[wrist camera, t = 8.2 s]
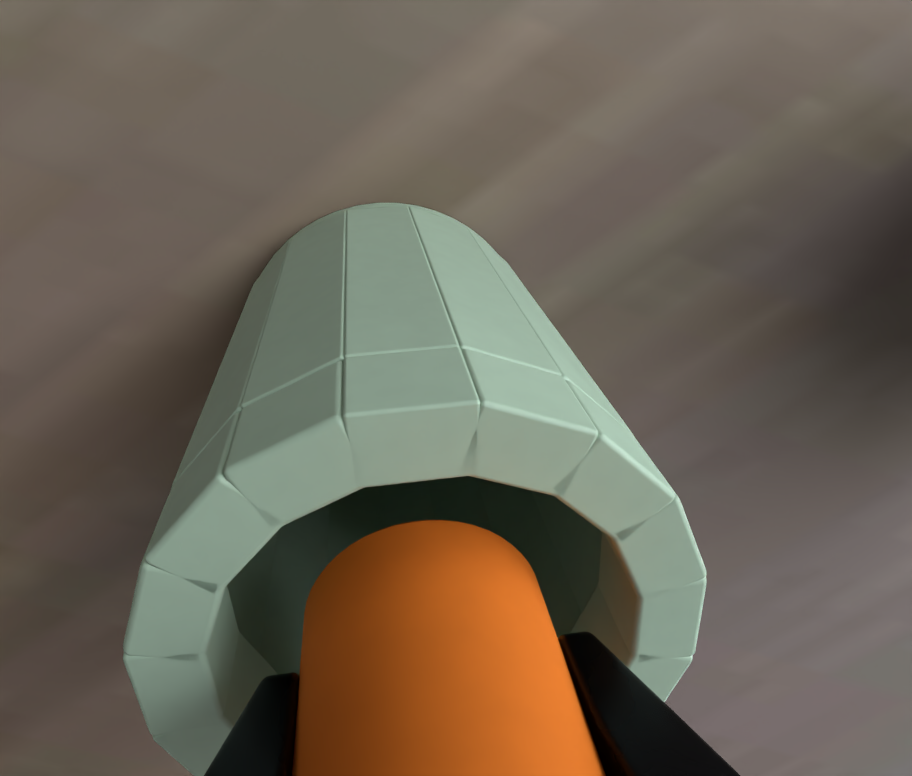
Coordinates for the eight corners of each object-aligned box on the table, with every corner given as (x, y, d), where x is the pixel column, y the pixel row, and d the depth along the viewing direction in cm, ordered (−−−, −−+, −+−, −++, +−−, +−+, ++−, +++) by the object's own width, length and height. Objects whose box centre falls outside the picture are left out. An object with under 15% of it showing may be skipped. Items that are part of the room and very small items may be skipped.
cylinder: (528, 683, 10) (642, 1090, 6) (311, 704, 10) (284, 1158, 6) (549, 510, 9) (715, 895, 5) (296, 524, 8) (249, 962, 4)
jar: (523, 445, 20) (674, 789, 11) (270, 472, 19) (197, 870, 10) (525, 192, 17) (745, 374, 7) (220, 213, 16) (39, 445, 7)
